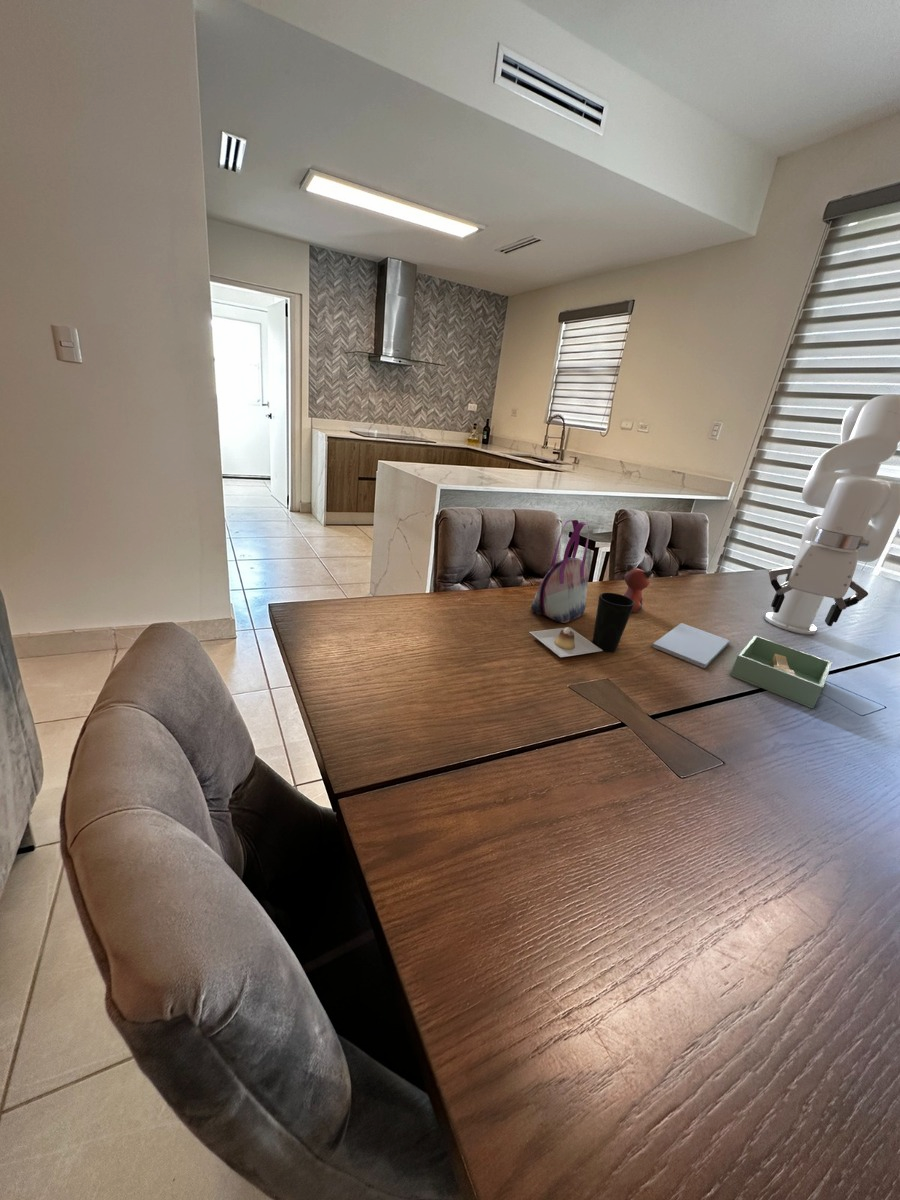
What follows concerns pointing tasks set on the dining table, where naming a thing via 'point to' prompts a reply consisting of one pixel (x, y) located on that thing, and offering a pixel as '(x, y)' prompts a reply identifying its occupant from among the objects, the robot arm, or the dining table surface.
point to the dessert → (565, 642)
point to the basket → (797, 688)
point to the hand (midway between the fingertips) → (801, 617)
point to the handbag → (564, 583)
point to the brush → (781, 664)
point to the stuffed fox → (636, 585)
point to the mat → (691, 644)
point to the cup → (611, 620)
